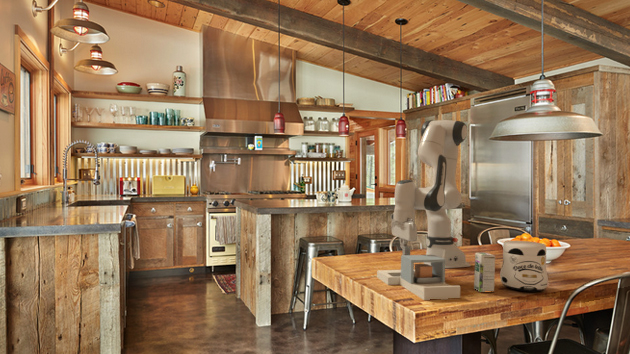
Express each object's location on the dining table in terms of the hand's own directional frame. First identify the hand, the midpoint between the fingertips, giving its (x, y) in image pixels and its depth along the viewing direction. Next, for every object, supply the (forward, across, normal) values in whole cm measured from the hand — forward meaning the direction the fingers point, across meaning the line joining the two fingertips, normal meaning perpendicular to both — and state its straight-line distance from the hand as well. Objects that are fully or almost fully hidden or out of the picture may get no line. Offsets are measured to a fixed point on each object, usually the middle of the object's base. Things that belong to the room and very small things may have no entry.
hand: (403, 248), depth 193 cm
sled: (+9, -13, 0) cm, 16 cm away
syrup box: (+12, -27, -22) cm, 37 cm away
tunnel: (+9, -19, 0) cm, 21 cm away
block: (+9, -20, 0) cm, 22 cm away
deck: (+12, -17, +2) cm, 21 cm away
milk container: (+12, -26, -40) cm, 49 cm away
